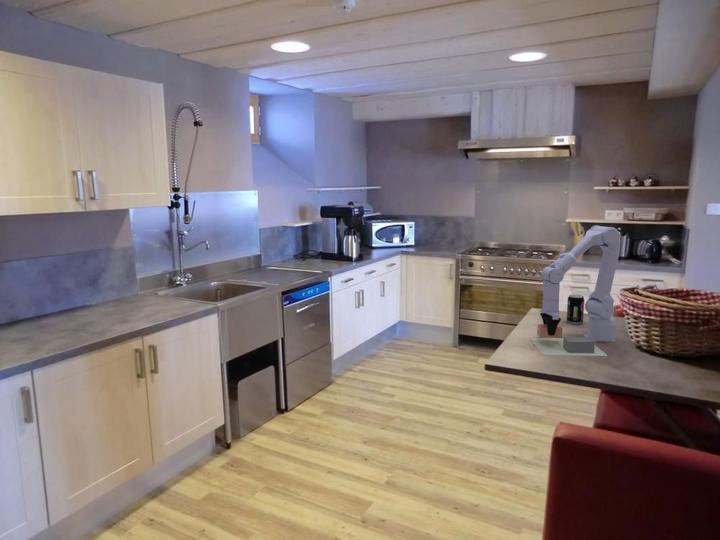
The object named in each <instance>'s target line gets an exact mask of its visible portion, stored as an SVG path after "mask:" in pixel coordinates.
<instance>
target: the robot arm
mask: <svg viewBox="0 0 720 540" xmlns="http://www.w3.org/2000/svg"><path fill="white" fill-rule="evenodd" d="M620 238H621V233H620V232H619V231H618V230H617V228H616V227H613V226H600V225H598V224H597V225H592V226H591V228H589V229H588V230H587V231H586V232H585V235H584V236H583V237H582V238H581V239H580V240H579V242H577V243H576V245H575V246H574V247H573V248H572V249H571V250H570V251H569V252H563V253H560V254H559V257H558V258H557V259H556V260H555V261H554V262H552V263H550V265H549V266H546V267H544V268H543V269H542V271H541V273H540V274H539V275H540V279H541V280H542V285H543V287H542V289H543V290H542V291H543V292H542V308H540V309H539V310H538V311H539V312H540V313H539V315H540V317H541V320H542V324H547V330H548V335H555V332H556V329H557V326H558V324H559V325H560V322H561V321H562V318H561V317H560V315H559V313H560V310H559V309H560V288H561V287H560V284H561V282H562V281H563V280H564V277H565V275H566V273H567V272H568V271H570V270H571V268H573V267H574V266H575V265H576V264H577V259H578V258H579V257H580V256H582V255H583V254H584V253H585V252H586V251H587V250H589V249H590V248H591V247H592V246H598V247H600V249H601V250H602V256H601V261H600V266H599V269H598V273H597V274H598V275H597V279H596V283H595V287H594V291H593V292H591V293H590V294H589V296H588V298H587V300H586V302H585V303H584V310H585V311H586V312H587V315H588V319H587V320H588V321H587V323H588V324H587V334H583V337H589V338H591V339H592V340H593V341H594V342H616V341H617V340H616V335H617V334H616V333H617V322H616V319H615V317H613V315H614V313H615V306H614V303H615V300H614V298H613V296H612V295H611V290H612V286H613V283H614V278H615V274H616V268H617V264H618V260H619V256H620V252H621V246H620V245H621V243H620Z"/></svg>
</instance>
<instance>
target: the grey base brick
mask: <svg viewBox="0 0 720 540" xmlns="http://www.w3.org/2000/svg"><path fill="white" fill-rule="evenodd" d="M563 339H564V340H563V348H564V349H565V350H566V351H567V352H569V353H594V348H595V345H596V341H593V340H592V339H591V338H589V337H585V336H563Z"/></svg>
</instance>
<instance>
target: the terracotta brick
mask: <svg viewBox="0 0 720 540" xmlns="http://www.w3.org/2000/svg"><path fill="white" fill-rule="evenodd" d="M536 329H537V331H536V335H537V336H538V338H562V339H563V326H562V325H560V323H559V324H558V326H557V329H556V332H555V335H548V330H547V324H543V323H540V324H539V323H538V324H537V328H536Z"/></svg>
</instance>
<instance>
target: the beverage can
mask: <svg viewBox="0 0 720 540" xmlns="http://www.w3.org/2000/svg"><path fill="white" fill-rule="evenodd" d="M584 310H585V298H584V296H583V295H580V294H569V295H568V297H567V305H566V322H567V323H568V324H570V325H582V323H584V317H585V316H584V312H585V311H584Z"/></svg>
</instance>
